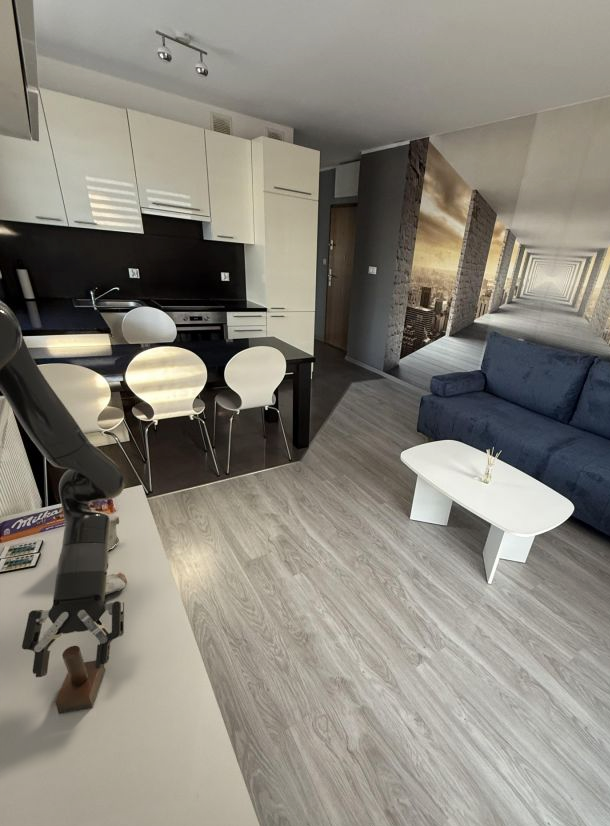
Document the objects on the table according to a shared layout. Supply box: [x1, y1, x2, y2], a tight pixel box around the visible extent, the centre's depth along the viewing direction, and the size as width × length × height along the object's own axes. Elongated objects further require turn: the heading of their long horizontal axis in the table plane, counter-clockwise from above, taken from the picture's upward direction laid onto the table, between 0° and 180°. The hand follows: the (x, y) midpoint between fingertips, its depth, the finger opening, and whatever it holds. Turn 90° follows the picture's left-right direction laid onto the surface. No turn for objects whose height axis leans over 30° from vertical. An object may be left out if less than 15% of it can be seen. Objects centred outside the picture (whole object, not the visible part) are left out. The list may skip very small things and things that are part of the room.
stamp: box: [54, 645, 107, 714], centre depth 68 cm, size 5×7×10 cm
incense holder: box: [91, 509, 120, 552], centre depth 99 cm, size 10×8×10 cm
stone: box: [105, 571, 128, 596], centre depth 90 cm, size 10×7×3 cm
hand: (71, 672), depth 66 cm, fingers open, 8 cm apart
